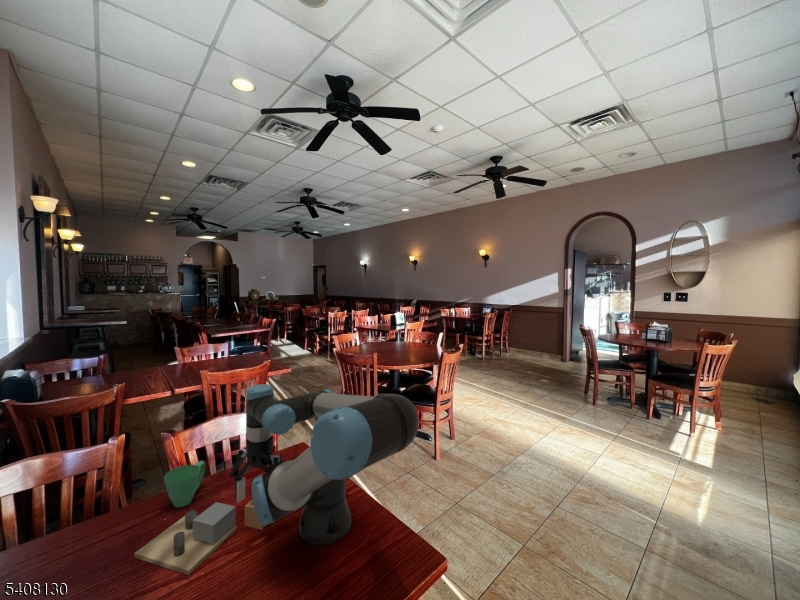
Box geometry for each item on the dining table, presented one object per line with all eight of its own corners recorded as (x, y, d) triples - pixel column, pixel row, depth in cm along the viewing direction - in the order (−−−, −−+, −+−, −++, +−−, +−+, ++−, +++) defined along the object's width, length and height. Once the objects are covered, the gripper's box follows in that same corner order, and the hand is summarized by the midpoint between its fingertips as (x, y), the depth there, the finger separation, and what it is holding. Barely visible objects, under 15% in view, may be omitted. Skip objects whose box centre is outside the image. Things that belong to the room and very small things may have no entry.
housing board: (236, 529, 97) (236, 509, 97) (188, 575, 81) (188, 551, 81) (188, 516, 102) (188, 497, 101) (134, 557, 86) (134, 535, 86)
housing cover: (235, 524, 97) (235, 506, 97) (213, 544, 89) (213, 525, 89) (216, 519, 99) (216, 501, 99) (192, 538, 91) (192, 520, 91)
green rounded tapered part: (184, 514, 103) (184, 483, 102) (156, 511, 104) (156, 480, 104) (216, 486, 117) (216, 458, 117) (191, 483, 119) (191, 456, 118)
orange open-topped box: (274, 516, 103) (274, 497, 102) (261, 529, 97) (261, 510, 97) (258, 512, 104) (258, 493, 104) (244, 525, 98) (244, 506, 98)
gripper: (303, 437, 100) (302, 505, 101) (235, 425, 106) (235, 489, 108) (288, 449, 92) (287, 522, 94) (216, 435, 99) (216, 504, 100)
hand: (259, 504), depth 101 cm, fingers open, 13 cm apart
